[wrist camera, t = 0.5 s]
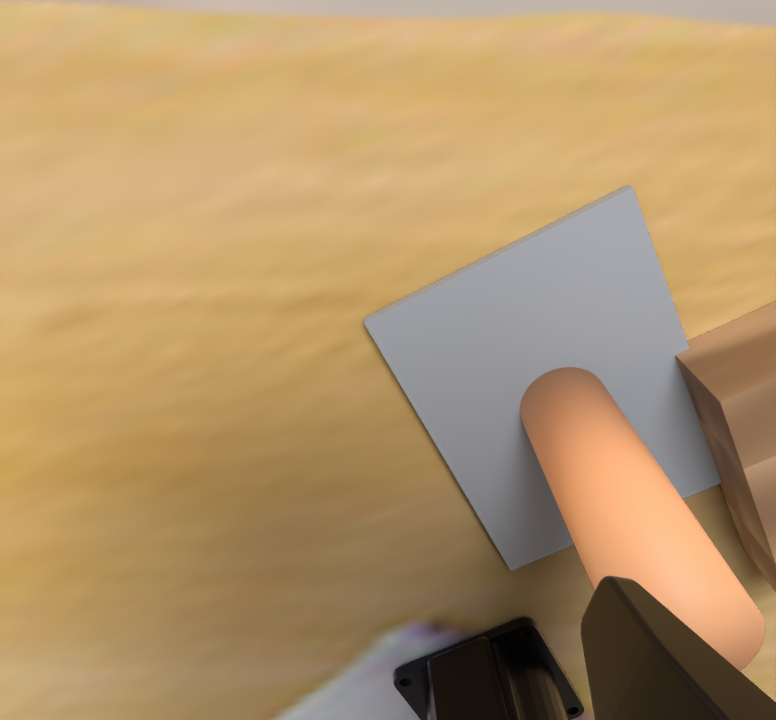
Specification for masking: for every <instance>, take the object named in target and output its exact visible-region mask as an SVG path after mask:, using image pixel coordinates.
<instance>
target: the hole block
mask: <svg viewBox="0 0 776 720" xmlns="http://www.w3.org/2000/svg"><path fill="white" fill-rule="evenodd" d="M688 345H689V349H687V350H685V351H683V352H681V353H678V354H676V355H675V356H676V358H677V361H678V364H679V367H680V369H681V372H682V375H683V378H684V380H685V383H686V386H687V389H688V391H689V394H690V397H691V399H692V402H693V405H694V408H695V410H696V413H697V416H698V419H699V421H700V424H701V427H702V430H703V432H704V435H705V438H706V440H707V443H708V446H709V449H710V451H711V454H712V457H713V460H714V462H715V465H716V468H717V471H718V473H719V476H720V479H721V481H722V483H720V486H721V489H722V492H723V494H724V497H725V500H726V503H727V505H728V508H729V511H730V513H731V516H732V519H733V522H734V524H735V527H736V530H737V533H738V535H739V538H740V541H741V543H742V546H743V548H744V550H745V551H746V552H747V554H748V555H749V556H750V558H751V559H752V560H753V562H754V563H755V565H756V566H757V567H758V569H759V570H760V571H761V573H762V574H763V575H764V577H765V578H766V579H767V581H768V582H769V583H770V585H771V586H772V587H773V589H774V590H775V592H776V301H775V302H773V303H771V304H769V305H767V306H765V307H762V308H760V309H758V310H756V311H754V312H751V313H749V314H747V315H745V316H743V317H741V318H738V319H736V320H734V321H732V322H730V323H727V324H725V325H723V326H721V327H719V328H717V329H714V330H712V331H710V332H708V333H706V334H703V335H701V336H699V337H697V338H695V339H693V340H690V341H688Z"/></svg>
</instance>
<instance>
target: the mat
mask: <svg viewBox="0 0 776 720" xmlns="http://www.w3.org/2000/svg"><path fill="white" fill-rule="evenodd" d="M363 319H364V324H365V326H366V328H367V329H368V331H369V333H370V335H371V336H372V338H373V340H374V341H375V343H376V345H377V346H378V348H379V350H380V351H381V353H382V355H383V356H384V358H385V360H386V362H387V363H388V365H389V367H390V368H391V370H392V372H393V373H394V375H395V377H396V378H397V380H398V382H399V384H400V385H401V387H402V389H403V390H404V392H405V394H406V395H407V397H408V399H409V400H410V402H411V404H412V405H413V407H414V409H415V411H416V412H417V414H418V416H419V417H420V419H421V421H422V422H423V424H424V426H425V427H426V429H427V431H428V432H429V434H430V436H431V438H432V439H433V441H434V443H435V444H436V446H437V448H438V449H439V451H440V453H441V454H442V456H443V458H444V460H445V461H446V463H447V465H448V466H449V468H450V470H451V471H452V473H453V475H454V476H455V478H456V480H457V481H458V483H459V485H460V487H461V488H462V490H463V492H464V493H465V495H466V497H467V498H468V500H469V502H470V503H471V505H472V507H473V508H474V510H475V512H476V514H477V515H478V517H479V519H480V520H481V522H482V524H483V525H484V527H485V529H486V530H487V532H488V534H489V536H490V537H491V539H492V541H493V542H494V544H495V546H496V547H497V549H498V551H499V552H500V554H501V556H502V557H503V559H504V561H505V563H506V564H507V566H508V568H509V569H510V571H513V570H515V569H518V568H520V567H523V566H525V565H527V564H530V563H532V562H534V561H537V560H539V559H542V558H544V557H546V556H549V555H551V554H553V553H556V552H558V551H561V550H563V549H565V548H568V547H570V546H573V545H575V544H574V542H573V540H572V537H571V535H570V533H569V530H568V528H567V526H566V523H565V521H564V519H563V516H562V514H561V512H560V509H559V507H558V505H557V502H556V500H555V498H554V495H553V493H552V491H551V488H550V486H549V484H548V481H547V479H546V477H545V474H544V472H543V470H542V467H541V465H540V463H539V460H538V458H537V456H536V453H535V451H534V449H533V446H532V444H531V442H530V439H529V437H528V435H527V432H526V430H525V428H524V425H523V423H522V421H521V417H520V404H521V400H522V397H523V395H524V393H525V391H526V390H527V388H528V387H529V386H530V385H531V383H532V382H533V381H535V380H536V379H537V378H538V377H540V376H541V375H543V374H545V373H546V372H549V371H551V370H554V369H557V368H563V367H577V368H582V369H585V370H587V371H589V372H591V373H593V374H594V375H596V376H597V377H598V378H599V379H600V380H601V382H602V383H603V385H604V386H605V387H606V389H607V390H608V392H609V393H610V395H611V396H612V398H613V399H614V401H615V402H616V403H617V405H618V406H619V408H620V409H621V411H622V412H623V414H624V415H625V417H626V418H627V419H628V421H629V422H630V424H631V425H632V427H633V428H634V430H635V431H636V432H637V434H638V435H639V437H640V438H641V440H642V441H643V443H644V444H645V446H646V447H647V448H648V450H649V451H650V453H651V454H652V456H653V457H654V459H655V460H656V462H657V463H658V464H659V466H660V467H661V469H662V470H663V472H664V473H665V475H666V476H667V477H668V479H669V480H670V482H671V483H672V485H673V486H674V488H675V489H676V491H677V492H678V493H679V495H680V496H681V498H682V499H685V498H687V497H689V496H692V495H694V494H696V493H699V492H701V491H704V490H706V489H708V488H711V487H713V486H715V485H718V484H720V483H722V481H721V479H720V476H719V473H718V471H717V468H716V465H715V462H714V460H713V457H712V454H711V451H710V449H709V446H708V443H707V440H706V438H705V435H704V432H703V430H702V427H701V424H700V421H699V419H698V416H697V413H696V410H695V408H694V405H693V402H692V399H691V397H690V394H689V391H688V389H687V386H686V383H685V380H684V378H683V375H682V372H681V369H680V367H679V364H678V361H677V358H676V356H675V355H676V354H678V353H681V352H683V351H685V350H687V349H689V345H688V342H687V339H686V337H685V334H684V331H683V328H682V325H681V322H680V320H679V317H678V314H677V311H676V308H675V305H674V303H673V300H672V297H671V294H670V291H669V288H668V286H667V283H666V280H665V277H664V274H663V271H662V269H661V266H660V263H659V260H658V257H657V254H656V252H655V249H654V246H653V243H652V240H651V237H650V235H649V232H648V229H647V226H646V223H645V220H644V218H643V215H642V212H641V209H640V206H639V203H638V201H637V198H636V195H635V192H634V189H633V187H631V186H629V185H626V186H624V187H622V188H620V189H618V190H616V191H614V192H612V193H610V194H608V195H606V196H605V197H603V198H601V199H599V200H597V201H595V202H593V203H591V204H589V205H587V206H585V207H583V208H581V209H579V210H577V211H575V212H573V213H571V214H569V215H567V216H565V217H563V218H561V219H559V220H557V221H555V222H553V223H551V224H549V225H547V226H545V227H543V228H541V229H539V230H537V231H535V232H533V233H531V234H529V235H527V236H525V237H523V238H521V239H519V240H517V241H515V242H513V243H511V244H509V245H507V246H505V247H503V248H501V249H499V250H497V251H496V252H494V253H492V254H490V255H488V256H486V257H484V258H482V259H480V260H478V261H476V262H474V263H472V264H470V265H468V266H466V267H464V268H462V269H460V270H458V271H456V272H454V273H452V274H450V275H448V276H446V277H444V278H442V279H440V280H438V281H436V282H434V283H432V284H430V285H428V286H426V287H424V288H422V289H420V290H418V291H416V292H414V293H412V294H410V295H408V296H406V297H404V298H402V299H400V300H398V301H396V302H394V303H392V304H390V305H388V306H387V307H385V308H383V309H381V310H379V311H377V312H375V313H373V314H371V315H369V316H367V317H365V318H363Z"/></svg>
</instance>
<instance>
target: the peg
mask: <svg viewBox="0 0 776 720" xmlns="http://www.w3.org/2000/svg"><path fill="white" fill-rule="evenodd" d="M520 417H521V421H522V423H523V425H524V428H525V430H526V432H527V435H528V437H529V439H530V442H531V444H532V446H533V449H534V451H535V453H536V456H537V458H538V460H539V463H540V465H541V467H542V470H543V472H544V474H545V477H546V479H547V481H548V484H549V486H550V488H551V491H552V493H553V495H554V498H555V500H556V502H557V505H558V507H559V509H560V512H561V514H562V516H563V519H564V521H565V523H566V526H567V528H568V530H569V533H570V535H571V537H572V540H573V542H574V544H575V547H576V549H577V551H578V554H579V556H580V558H581V561H582V563H583V565H584V568H585V570H586V572H587V575H588V577H589V579H590V582H591V584H592V586H593V589H594V591H595V590H596V588H597V586H598V584H599V582H600V580H601V579H602V578H603V577H605V576H617V577H623V578H629V579H632V580H634V581H636V582H637V583H638V584H640V585H641V586H642V587H643V588H644V589H645V590H646V591H648V592H649V593H650V594H651V595H652V596H653V597H655V598H656V599H657V600H658V601H659V602H660V603H661V604H663V605H664V606H665V607H666V608H667V609H668V610H670V611H671V612H672V613H673V614H674V615H675V616H676V617H678V618H679V619H680V620H681V621H682V622H683V623H684V624H686V625H687V626H688V627H689V628H690V629H691V630H693V631H694V632H695V633H696V634H697V635H698V636H699V637H701V638H702V639H703V640H704V641H705V642H706V643H708V644H709V645H710V646H711V647H712V648H713V649H714V650H716V651H717V652H718V653H719V654H720V655H721V656H723V657H724V658H725V659H726V660H727V661H728V662H729V663H731V664H732V665H733V666H734V667H735V668H736V669H738V670H739V671H741V670H742V669H744V668H745V667H746V666H747V665H748V664H749V663H750V662H751V661H752V660H753V658H754V657H755V656H756V654H757V653H758V651H759V650H760V648H761V646H762V644H763V641H764V637H765V622H764V618H763V616H762V614H761V612H760V611H759V610H758V608H757V607H756V605H755V604H754V602H753V601H752V599H751V598H750V596H749V595H748V594H747V592H746V591H745V589H744V588H743V586H742V585H741V583H740V582H739V580H738V579H737V578H736V576H735V575H734V573H733V572H732V570H731V569H730V567H729V566H728V565H727V563H726V562H725V560H724V559H723V557H722V556H721V554H720V553H719V551H718V550H717V549H716V547H715V546H714V544H713V543H712V541H711V540H710V538H709V537H708V536H707V534H706V533H705V531H704V530H703V528H702V527H701V525H700V524H699V522H698V521H697V520H696V518H695V517H694V515H693V514H692V512H691V511H690V509H689V508H688V506H687V505H686V504H685V502H684V501H683V499H682V498H681V496H680V495H679V493H678V492H677V491H676V489H675V488H674V486H673V485H672V483H671V482H670V480H669V479H668V477H667V476H666V475H665V473H664V472H663V470H662V469H661V467H660V466H659V464H658V463H657V462H656V460H655V459H654V457H653V456H652V454H651V453H650V451H649V450H648V448H647V447H646V446H645V444H644V443H643V441H642V440H641V438H640V437H639V435H638V434H637V432H636V431H635V430H634V428H633V427H632V425H631V424H630V422H629V421H628V419H627V418H626V417H625V415H624V414H623V412H622V411H621V409H620V408H619V406H618V405H617V403H616V402H615V401H614V399H613V398H612V396H611V395H610V393H609V392H608V390H607V389H606V387H605V386H604V385H603V383H602V382H601V380H600V379H599V378H598V377H597V376H596V375H594V374H593V373H591V372H589V371H587V370H585V369H582V368H577V367H563V368H557V369H554V370H551V371H549V372H546V373H545V374H543V375H541V376H540V377H538V378H537V379H536V380H535V381H533V382H532V383H531V385H530V386H529V387H528V388H527V390H526V391H525V393H524V395H523V397H522V400H521V404H520Z"/></svg>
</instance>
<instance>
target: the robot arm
mask: <svg viewBox="0 0 776 720" xmlns="http://www.w3.org/2000/svg"><path fill="white" fill-rule="evenodd" d="M523 630H525V631H523ZM581 638H582V644H583V650H584V656H585V662H586V669H587V675H588V681H589V687H590V693H591V699H592V705H593V711H594V717H595V720H776V702H774V701H773V700H772V699H771V698H770V697H769V696H768V695H766V694H765V693H764V692H763V691H762V690H761V689H759V688H758V687H757V686H756V685H755V684H754V683H753V682H751V681H750V680H749V679H748V678H747V677H746V676H744V675H743V674H742V673H741V672H740V671H739V670H738V669H736V668H735V667H734V666H733V665H732V664H731V663H729V662H728V661H727V660H726V659H725V658H724V657H723V656H721V655H720V654H719V653H718V652H717V651H716V650H714V649H713V648H712V647H711V646H710V645H709V644H708V643H706V642H705V641H704V640H703V639H702V638H701V637H699V636H698V635H697V634H696V633H695V632H694V631H693V630H691V629H690V628H689V627H688V626H687V625H686V624H684V623H683V622H682V621H681V620H680V619H679V618H678V617H676V616H675V615H674V614H673V613H672V612H671V611H670V610H668V609H667V608H666V607H665V606H664V605H663V604H661V603H660V602H659V601H658V600H657V599H656V598H655V597H653V596H652V595H651V594H650V593H649V592H648V591H646V590H645V589H644V588H643V587H642V586H641V585H640V584H638V583H637V582H636V581H634V580H632V579H629V578H623V577H617V576H605V577H603V578H602V579H601V580H600V582H599V584H598V586H597V588H596V590H595V592H594V594H593V596H592V599H591V601H590V603H589V605H588V607H587V609H586V611H585V613H584V616H583V618H582V622H581ZM404 678H405V679H404ZM393 680H394V685H395V687H396V689H397V690H398V691H399V692H400V694H401V695H402V696H403V697H404V699H405V700H406V701H407V703H408V704H409V705H410V706H411V708H412V709H413V710H414V712H415V713H416V714H417V715H418V717H419V718H420V719H421V720H571V719H574V718H576V717H578V716H580V715H581V714H582V713H583V712H584V707H583V704H582V701H581V698H580V697H579V695H578V693H577V692H576V690H575V688H574V687H573V685H572V683H571V682H570V680H569V678H568V677H567V675H566V673H565V672H564V670H563V668H562V667H561V665H560V663H559V662H558V660H557V658H556V657H555V655H554V653H553V652H552V650H551V648H550V647H549V645H548V643H547V642H546V640H545V638H544V637H543V635H542V633H541V632H540V630H539V628H538V626H537V625H536V623H535V622H534V621H533V620H532V619H530V618H520V619H517V620H515V621H512V622H510V623H507V624H505V625H502V626H500V627H498V628H495V629H493V630H490V631H488V632H485V633H483V634H480V635H478V636H475V637H473V638H471V639H468V640H466V641H463V642H461V643H458V644H456V645H453V646H451V647H448V648H446V649H443V650H441V651H439V652H436V653H434V654H431V655H429V656H426V657H424V658H421V659H419V660H416V661H414V662H411V663H409V664H407V665H404V666H402V667H399V668H398V669H396V670H395V671H394V674H393Z"/></svg>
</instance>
